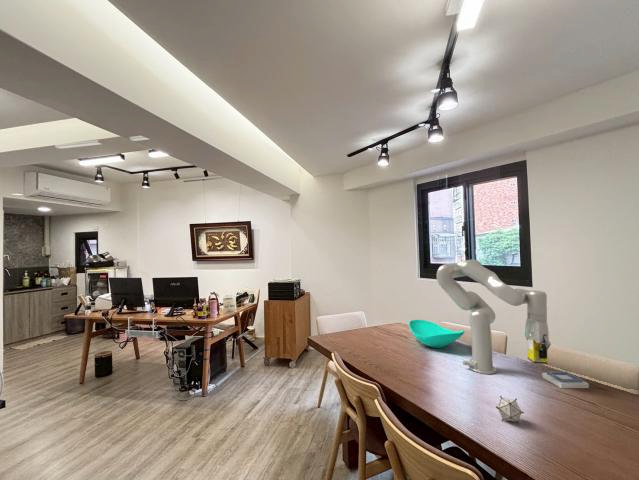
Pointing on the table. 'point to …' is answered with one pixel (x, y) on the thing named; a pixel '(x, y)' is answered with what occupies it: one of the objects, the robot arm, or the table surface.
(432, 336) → the table top decor
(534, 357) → the supplement box
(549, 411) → the table surface
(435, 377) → the table surface
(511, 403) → the grey icosahedron
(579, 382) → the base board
